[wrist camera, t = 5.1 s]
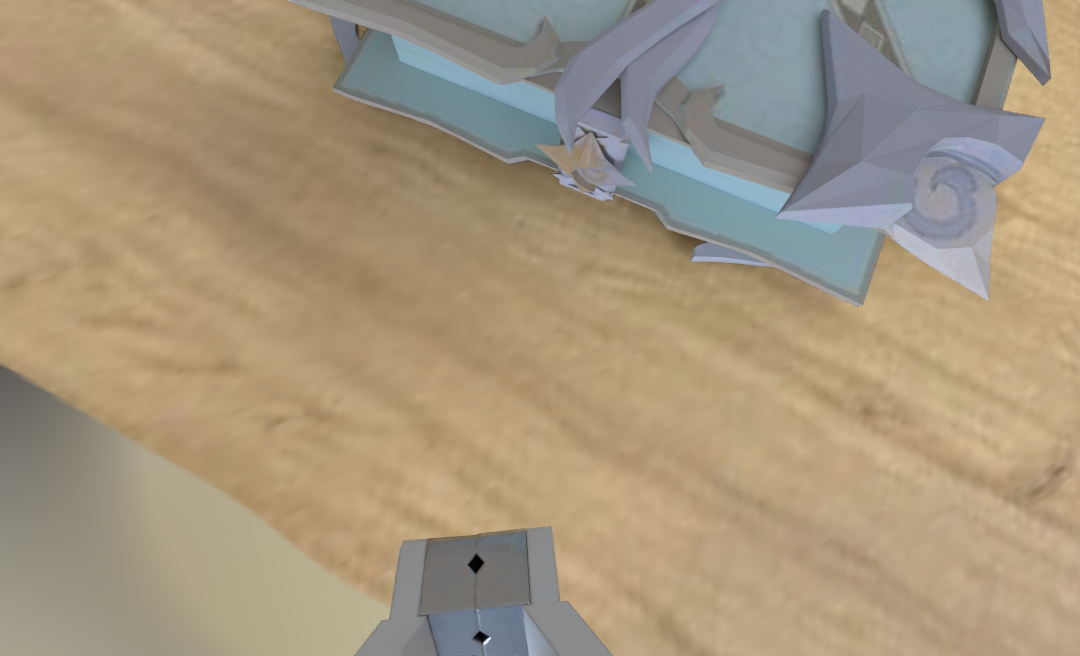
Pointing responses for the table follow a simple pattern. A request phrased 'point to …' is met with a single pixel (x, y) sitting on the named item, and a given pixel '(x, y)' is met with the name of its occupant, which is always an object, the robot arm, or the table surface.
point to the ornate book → (732, 114)
